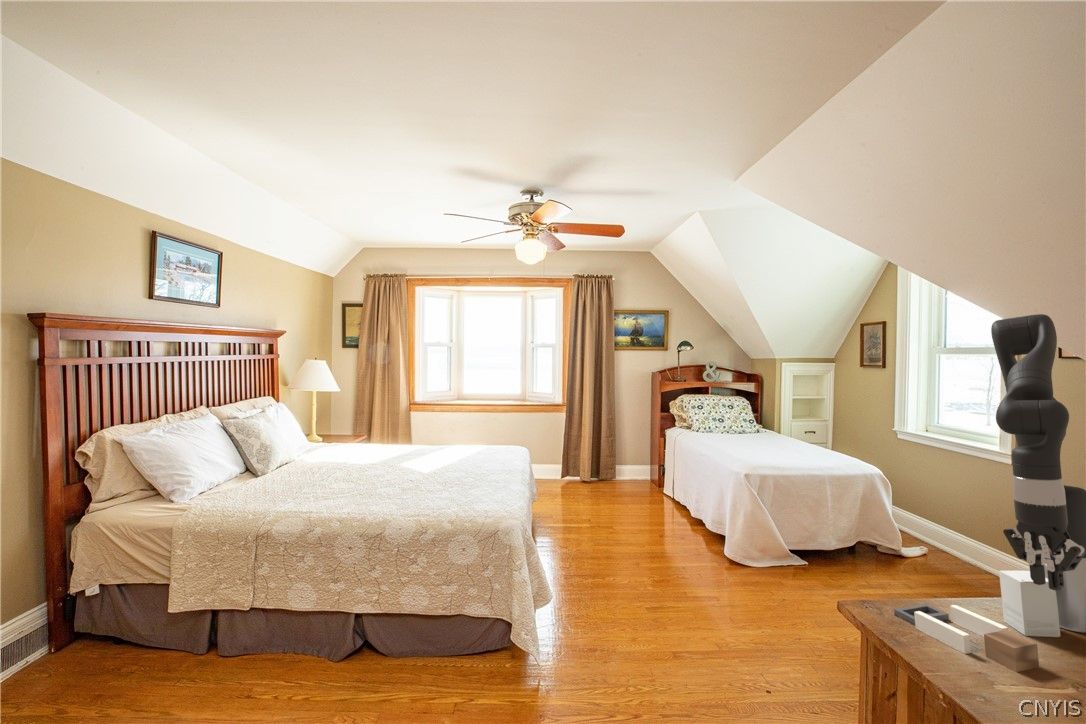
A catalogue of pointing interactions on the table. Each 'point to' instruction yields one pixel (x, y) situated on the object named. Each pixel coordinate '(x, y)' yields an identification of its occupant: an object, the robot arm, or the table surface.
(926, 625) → the white guide rails
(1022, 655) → the walnut block
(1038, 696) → the table surface
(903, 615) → the frame
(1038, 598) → the supplement box
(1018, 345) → the robot arm
